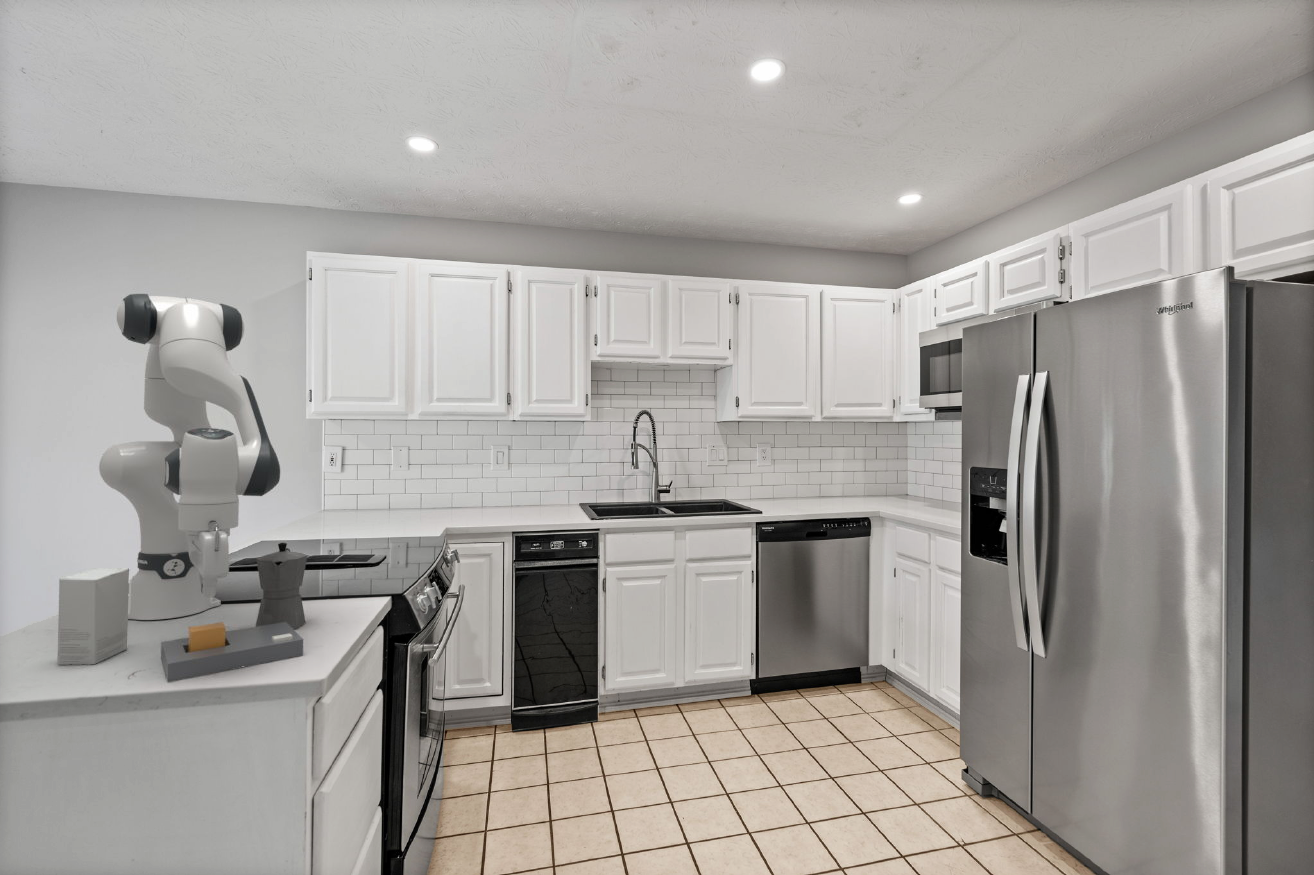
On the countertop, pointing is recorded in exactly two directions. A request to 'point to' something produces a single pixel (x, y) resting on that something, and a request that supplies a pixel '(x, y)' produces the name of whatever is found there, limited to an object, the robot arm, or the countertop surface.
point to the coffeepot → (281, 587)
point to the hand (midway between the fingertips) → (207, 594)
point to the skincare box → (92, 615)
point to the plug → (206, 637)
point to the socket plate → (231, 651)
